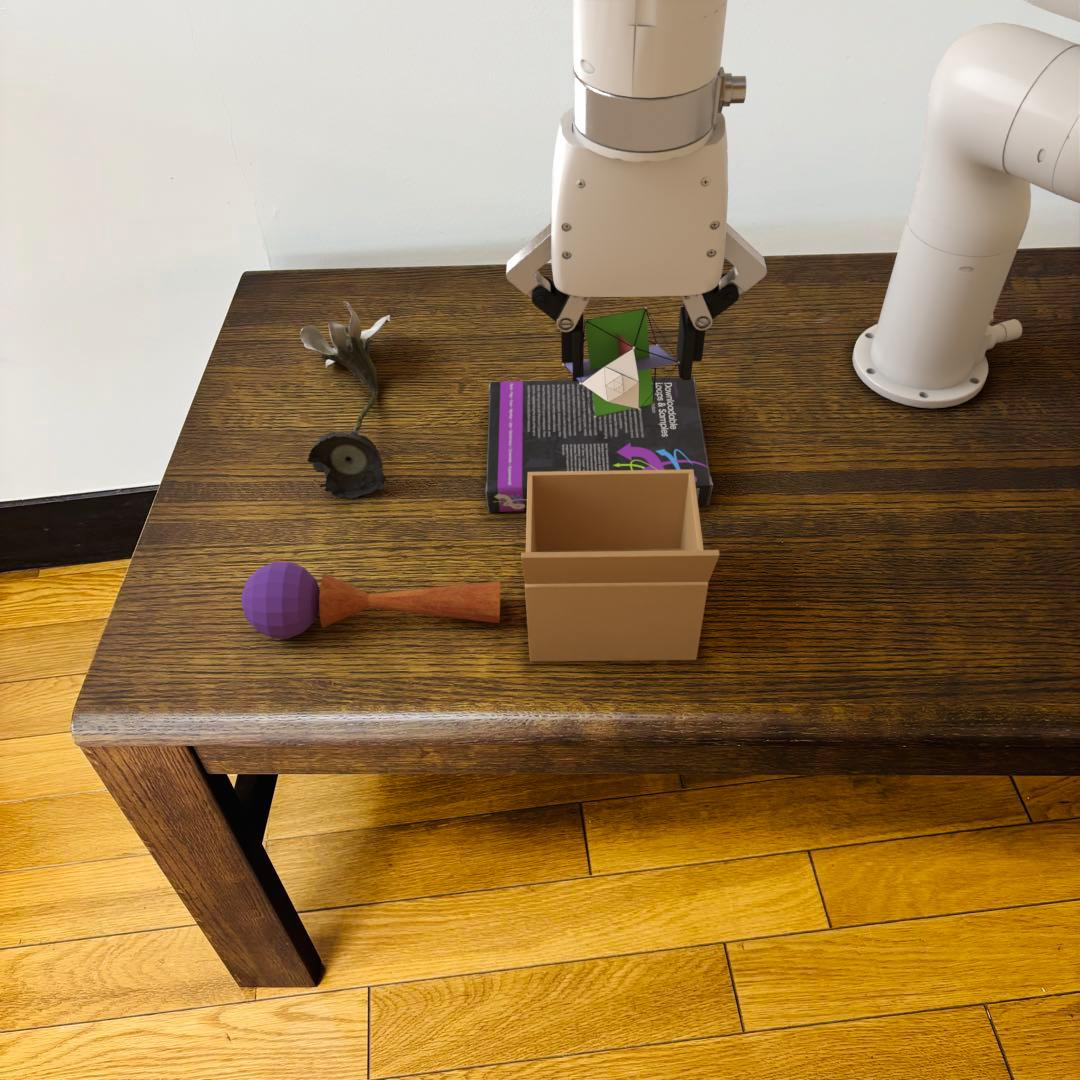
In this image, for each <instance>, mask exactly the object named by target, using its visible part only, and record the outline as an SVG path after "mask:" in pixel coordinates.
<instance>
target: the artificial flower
mask: <svg viewBox="0 0 1080 1080" xmlns="http://www.w3.org/2000/svg"><path fill="white" fill-rule="evenodd" d="M342 302H343V303H342V306H343V307H345V309H347V310H348V312H349V314H350V315H351V316H350V319H349V323H348V326H346V325H343V324H340V323H339V322H338V321H334V320H331V321H329V322H328V324H327V326H328V327H327V328H328V331H329V335H328V336H329V339H330V342H331V344H332V346H333V347H331V345H330V343H328V341H327V340H326V339H325V337H324V336H323V335H322V333H321V331H320V330H319V328H317V327H316V326H314V325H312V324H308V325H305V326H303V327H302V328H301V329H300V332H299V334H300V336H299V337H300V340H301V342H302V343H303V346H304V348H306V349H309V350H313V351H314V353H315V354H316V355H317V356H320V358H321V359H323V360H326V361H325V367H326V369H328V368H329V367H330V366H331V365H334V364H335V363H338V364H340V365H342V366H343V367H345V368H347V370H349V371H350V372H351V373H352V374H353V377H354V378H357V379H359V381H360V382H361V383H362V384H363V385H366V387H367V388H368V389H369V390H370V391H371V392H372V396H371V397H370V399H369V401H368V402H367V403H366V404H365V406H364V407H363V408H362V411H361V412H360V413H359V415H358V417H357V419H356V422H355V426H354V428H353V430H352V431H350V432H349V433H347V432H344V431H343V432H334V431H331V432H328V433H326V434H324V435H321V436H320V438H318V439H317V441H316V442H315V443H314V445H313V446H312V448H311V450H310V452H309V453H308V458H307V462H308V463H309V464H312V468H313V469H314V471H316V472H317V473H324V475H325V483H324V484H323V483H321V485H319V486H318V487H319V488H323V487H325V488H324V491H325V492H326V493H331V495H333V496H334V497H337V498H342V499H343V498H345V499H349V500H352V499H357V498H358V497H360V496H366V495H368V494H372V492H375V491H376V490H378V489H379V490H381V489H382V488H383V487H384V484H385V482H386V479H387V476H386V475H384V472H383V471H384V466H383V465H384V463H383V460H382V457H381V454H380V452H379V449H378V448H377V446H376V445H375V444H374V442H373V441H372V440H371V439H369V438H368V437H367V436H365V435H362V434H359V433H358V432H359V431H360V429H361V428H362V424H363V419H364V418H365V417H366V416H367V414H368V412H369V411H370V410H371V408H372V407H373V405H374V404H375V401H376V400H378V395H379V387H378V377H377V368H376V367H375V365H374V363H373V362H372V359H371V356H370V352H369V349H370V348H369V347H370V344H371V343H372V342H373V340H372V339H371V338H373V337H374V336H375V335H377V333H379V331H381V329H382V328H383V327H384V325H386V324H387V323H389V322H391V315H390V314H389V315H386V316H383V317H381V318H380V319H379V320H377V321H376V322H375V323H374V324H373V325H372V327H371V328H369V329H365V330H362V324H361V320H360V318H359V316H358V315H357V313H356V312H355V310H354V309H353V307H352V306H351V304H350V303H349V301H342ZM347 333H348V334H347ZM313 480H314V482H317V479H313Z"/></svg>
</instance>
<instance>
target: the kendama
mask: <svg viewBox="0 0 1080 1080" xmlns="http://www.w3.org/2000/svg"><path fill="white" fill-rule="evenodd" d="M240 599H241V601H240V603H241V608H242V611H243V613H244V617H245V620H246V621H247V622H248V623H249V624H250V625H251V626H252V627H253V628H254V629H255V630H256V632H258V633H259V634H262V635H264V636H266V637H269V638H272V639H290V638H293V637H295V636H298V635H300V634H302V633H303V634H304V632H305V631H306V630H308V628H309V627H311V625H313V624H314V623H315V622H316V621H317V618H318V615H319V620H320V624H321V627H322V628H325V627H329V626H330V625H332V624H335V623H337V622H339V621H341V620H344V619H346V618H348V617H351V616H353V615H356V614H358V613H361V612H362V611H365V610H367V609H374V610H384V611H392V612H400V613H410V614H416V615H417V614H418V615H425V616H434V617H443V618H451V619H458V620H459V619H460V620H468V621H477V622H485V623H493V624H500V621H501V616H500V615H501V580H498V581H488V582H487V581H486V582H478V583H477V582H475V583H465V584H456V585H447V586H446V585H445V586H437V587H426V588H417V589H416V588H415V589H405V590H397V591H394V590H393V591H386V592H375V593H368V592H366V591H364V590H362V589H360V588H357V587H355V586H353V585H351V584H349V583H346V582H344V581H342V580H340V579H339V578H335V577H334V576H331V575H329V574H327V573H323V574H322V577H321V581H320V587H319V584H318V582H317V579H316V578H315V577H314V576H313V575H312V573H310V572H309V570H308V569H307V568H306V567H303V566H302V565H299V564H297V563H295V562H293V561H274V562H272V563H270V564H266V565H264V566H262V567H259V568H258V569H257V570H255V572H253V573H252V574H251V575H250V576H249V577H248V578H247V580H246V582H245V585H244V588H243V590H242V593H241V598H240Z"/></svg>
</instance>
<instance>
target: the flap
mask: <svg viewBox="0 0 1080 1080" xmlns="http://www.w3.org/2000/svg"><path fill="white" fill-rule="evenodd" d="M520 558H521V567H522V572H523V579H524V585H525V584H577V583H663V582H708V583H709V582H710V579H711V578H712V575H713V572H714V570H715V567H716V565H717V562H718V561H719V558H720V550H719V549H704V550H674V551H595V552H526V551H523V552H520Z"/></svg>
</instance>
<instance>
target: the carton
mask: <svg viewBox="0 0 1080 1080" xmlns="http://www.w3.org/2000/svg"><path fill="white" fill-rule="evenodd" d="M525 522H526V524H525V525H526V527H525V552H595V551H674V550H705V549H704V541H703V533H702V526H701V525H702V524H701V516H700V508H699V506H698V500H697V493H696V485H695V477H694V470H693V469H688V470H621V471H554V472H528V479H527V511H526V521H525ZM708 588H709V582H663V583H577V584H525V583H524V594H525V596H524V597H525V608H526V609H525V610H526V625H527V639H528V651H529V662H609V661H610V662H613V661H614V662H615V661H617V662H620V661H621V662H623V661H625V662H626V661H627V662H628V661H633V662H634V661H696V660H698V659H697V658H698V651H699V646H700V638H701V633H702V626H703V620H704V614H705V607H706V600H707V595H708Z"/></svg>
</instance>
